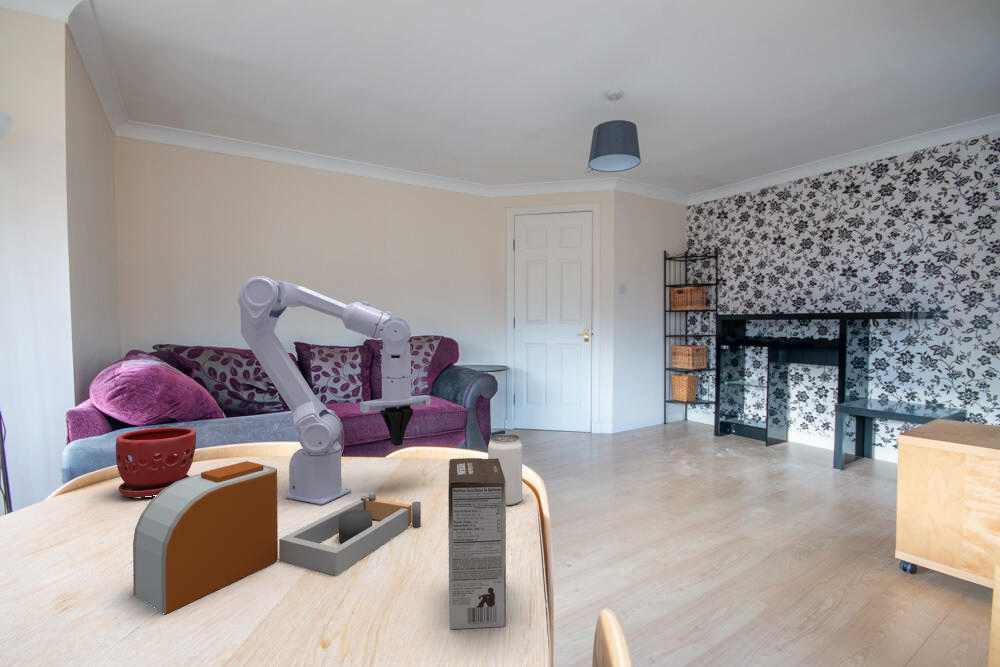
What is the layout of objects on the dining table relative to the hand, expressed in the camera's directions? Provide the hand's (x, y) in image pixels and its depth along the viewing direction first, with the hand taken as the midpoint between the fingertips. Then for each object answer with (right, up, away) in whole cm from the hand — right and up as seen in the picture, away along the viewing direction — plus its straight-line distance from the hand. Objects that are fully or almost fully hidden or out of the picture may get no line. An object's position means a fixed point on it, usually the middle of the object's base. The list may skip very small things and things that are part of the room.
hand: (396, 444), depth 93 cm
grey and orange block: (-17, -10, -32) cm, 37 cm away
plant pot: (-49, -10, +1) cm, 50 cm away
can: (+22, -10, -5) cm, 24 cm away
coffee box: (+18, -10, -39) cm, 44 cm away
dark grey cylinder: (-2, -10, -21) cm, 23 cm away
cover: (+3, -9, -15) cm, 18 cm away
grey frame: (-2, -10, -22) cm, 24 cm away
